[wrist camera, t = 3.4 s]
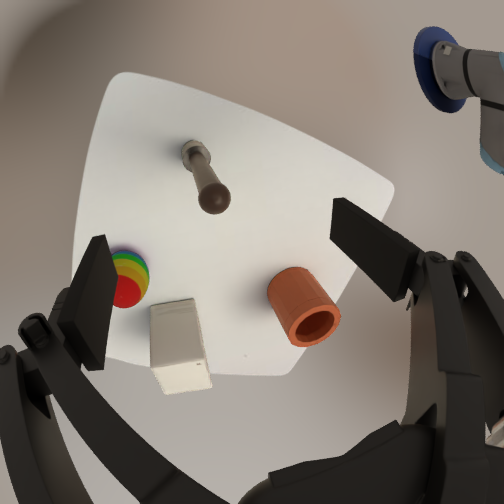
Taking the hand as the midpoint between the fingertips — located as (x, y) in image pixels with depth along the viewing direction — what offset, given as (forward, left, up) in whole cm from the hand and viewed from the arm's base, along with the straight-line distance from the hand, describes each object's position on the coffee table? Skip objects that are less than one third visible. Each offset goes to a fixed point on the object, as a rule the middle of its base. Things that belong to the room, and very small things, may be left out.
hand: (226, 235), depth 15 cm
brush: (0, 0, -28) cm, 28 cm away
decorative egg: (+14, +17, -28) cm, 36 cm away
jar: (-16, +29, -28) cm, 43 cm away
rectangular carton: (+8, +31, -28) cm, 43 cm away
